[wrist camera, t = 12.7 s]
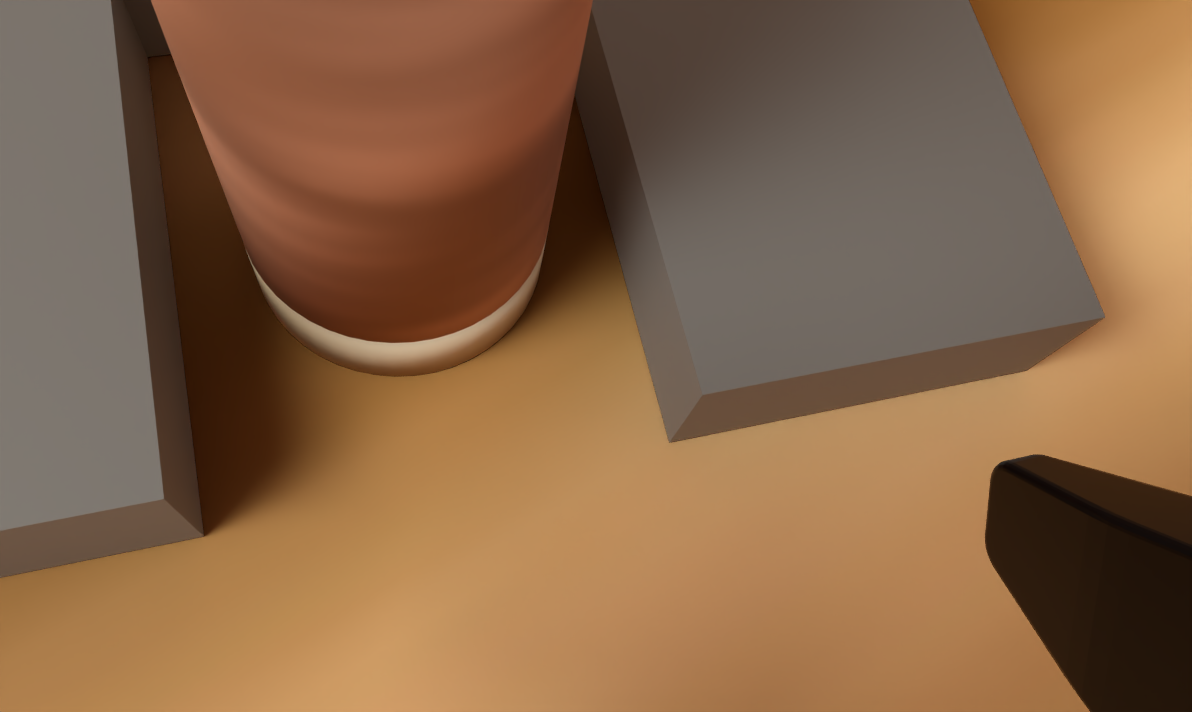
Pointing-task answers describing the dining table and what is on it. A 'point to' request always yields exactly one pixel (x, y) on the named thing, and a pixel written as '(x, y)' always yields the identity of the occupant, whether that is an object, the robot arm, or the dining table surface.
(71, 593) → the dining table surface
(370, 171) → the bobbin
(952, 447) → the dining table surface
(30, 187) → the notched board
